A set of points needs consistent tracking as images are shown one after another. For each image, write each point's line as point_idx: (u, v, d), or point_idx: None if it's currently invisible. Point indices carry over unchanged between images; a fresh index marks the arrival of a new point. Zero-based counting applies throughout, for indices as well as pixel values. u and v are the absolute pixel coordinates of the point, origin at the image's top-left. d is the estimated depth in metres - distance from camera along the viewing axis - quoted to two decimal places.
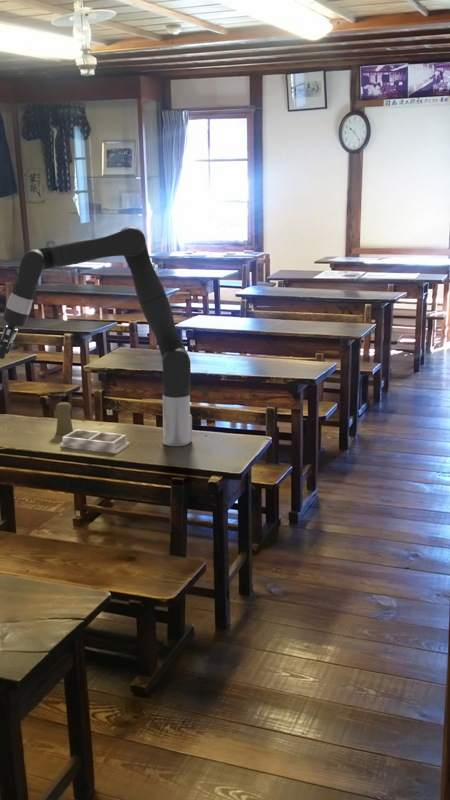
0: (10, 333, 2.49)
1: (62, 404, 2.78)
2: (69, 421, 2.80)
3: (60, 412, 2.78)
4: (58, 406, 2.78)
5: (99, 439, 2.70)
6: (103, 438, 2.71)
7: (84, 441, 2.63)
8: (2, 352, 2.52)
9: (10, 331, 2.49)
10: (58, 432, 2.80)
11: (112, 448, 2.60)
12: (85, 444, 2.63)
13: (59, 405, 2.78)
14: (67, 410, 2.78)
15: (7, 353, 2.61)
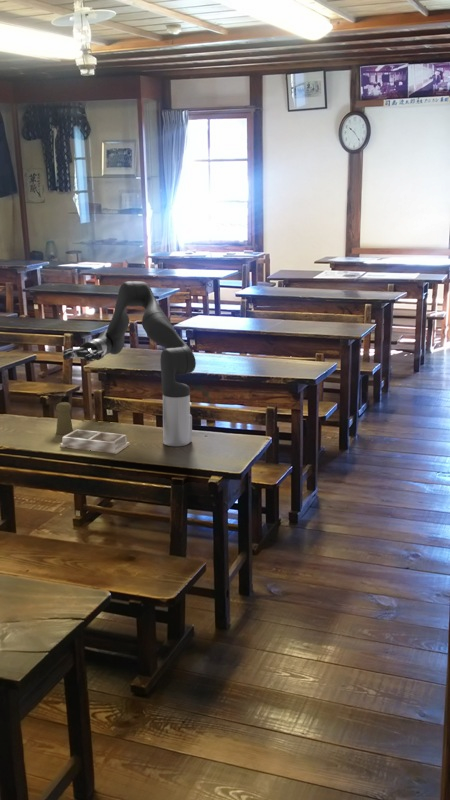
0: None
1: (62, 404, 2.78)
2: (69, 421, 2.80)
3: (60, 412, 2.78)
4: (58, 406, 2.78)
5: (99, 439, 2.70)
6: (103, 438, 2.71)
7: (84, 441, 2.63)
8: None
9: None
10: (58, 432, 2.80)
11: (112, 448, 2.60)
12: (85, 444, 2.63)
13: (59, 405, 2.78)
14: (67, 410, 2.78)
15: (85, 355, 2.85)
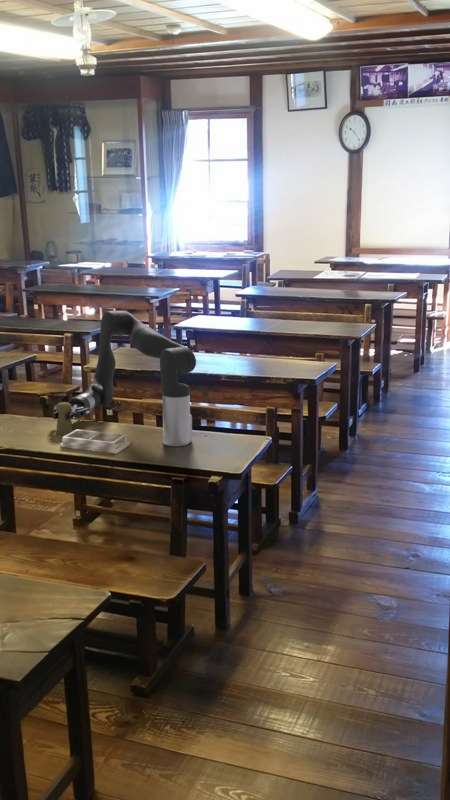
0: (55, 407, 2.88)
1: (62, 404, 2.78)
2: (69, 421, 2.80)
3: (60, 412, 2.78)
4: (58, 406, 2.78)
5: (99, 439, 2.70)
6: (103, 438, 2.71)
7: (84, 441, 2.63)
8: None
9: None
10: (58, 432, 2.80)
11: (112, 448, 2.60)
12: (85, 444, 2.63)
13: (59, 405, 2.78)
14: (67, 410, 2.78)
15: None
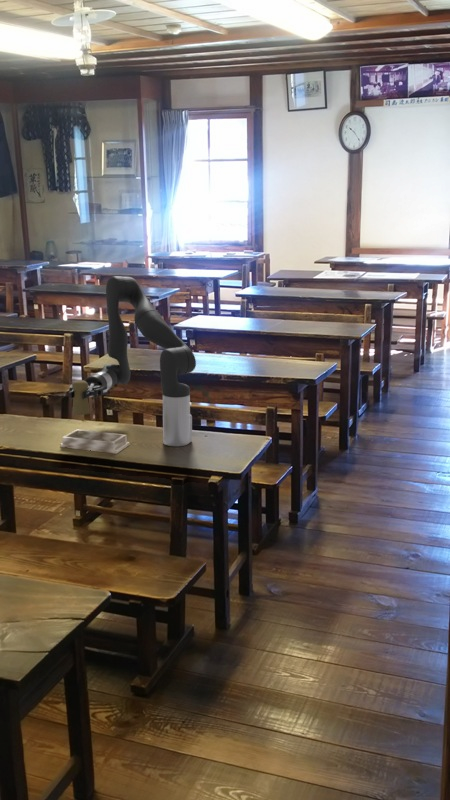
0: None
1: (78, 382, 2.62)
2: (86, 400, 2.65)
3: (76, 391, 2.63)
4: (74, 385, 2.62)
5: (99, 439, 2.70)
6: (103, 438, 2.71)
7: (84, 441, 2.63)
8: None
9: None
10: (74, 412, 2.65)
11: (112, 448, 2.60)
12: (85, 444, 2.63)
13: (75, 383, 2.62)
14: (84, 388, 2.63)
15: (82, 393, 2.62)
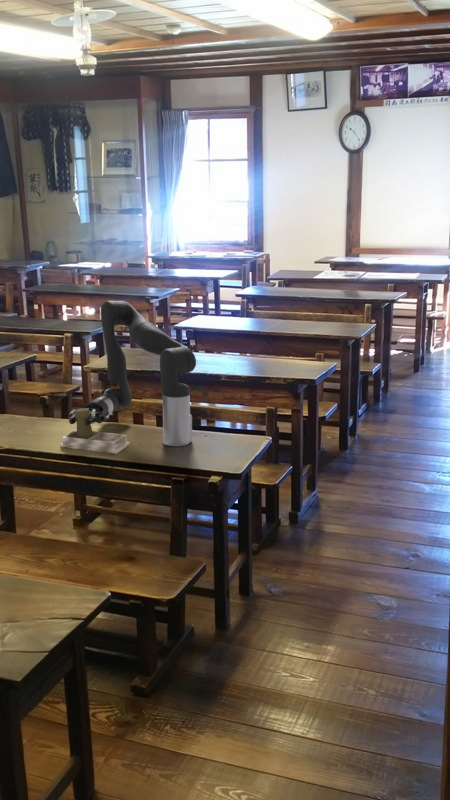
0: None
1: (80, 411, 2.64)
2: (89, 428, 2.67)
3: (79, 419, 2.65)
4: (76, 413, 2.65)
5: (99, 439, 2.70)
6: (103, 438, 2.71)
7: (84, 441, 2.63)
8: None
9: None
10: None
11: (112, 448, 2.60)
12: (85, 444, 2.63)
13: (77, 412, 2.65)
14: (86, 416, 2.65)
15: None
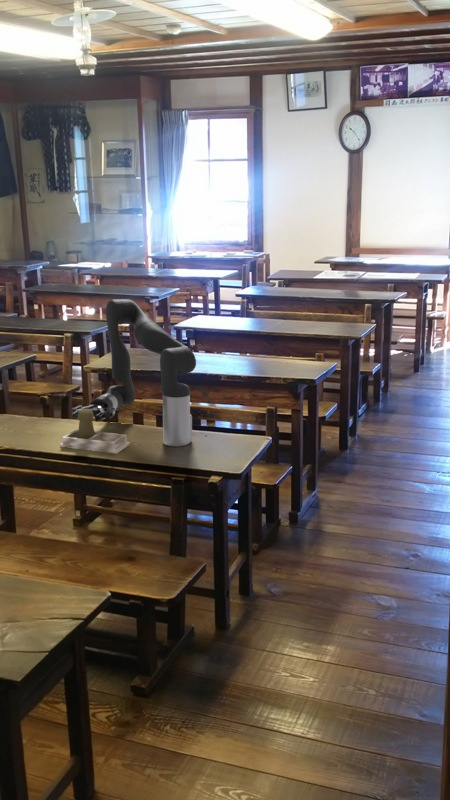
0: None
1: (83, 413, 2.63)
2: (91, 429, 2.66)
3: (81, 421, 2.64)
4: (79, 415, 2.63)
5: (99, 439, 2.70)
6: (103, 438, 2.71)
7: (84, 441, 2.63)
8: None
9: None
10: None
11: (112, 448, 2.60)
12: (85, 444, 2.63)
13: (81, 414, 2.63)
14: (89, 419, 2.63)
15: (95, 415, 2.68)
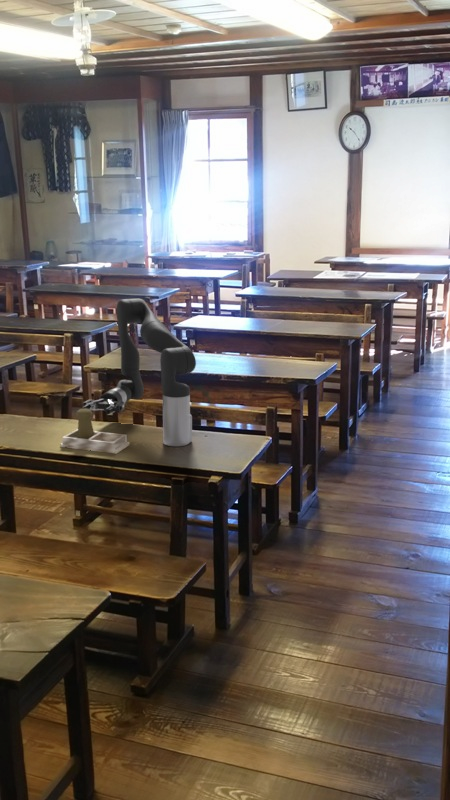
0: None
1: (82, 412, 2.64)
2: (90, 429, 2.67)
3: (80, 420, 2.65)
4: (78, 414, 2.64)
5: (99, 439, 2.70)
6: (103, 438, 2.71)
7: (84, 441, 2.63)
8: None
9: None
10: None
11: (112, 448, 2.60)
12: (85, 444, 2.63)
13: (79, 413, 2.64)
14: (88, 418, 2.65)
15: (105, 408, 2.76)
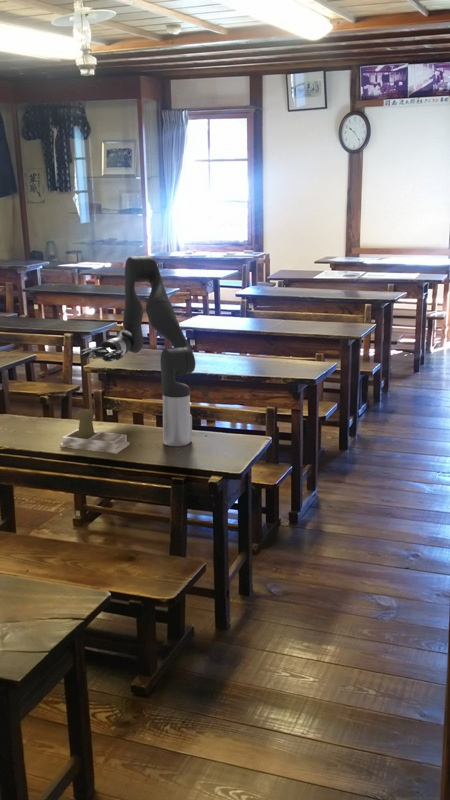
0: None
1: (83, 411, 2.65)
2: (91, 429, 2.67)
3: (82, 419, 2.65)
4: (79, 413, 2.65)
5: (99, 439, 2.70)
6: (103, 438, 2.71)
7: (84, 441, 2.63)
8: None
9: None
10: None
11: (112, 448, 2.60)
12: (85, 444, 2.63)
13: (81, 412, 2.65)
14: (89, 417, 2.65)
15: (104, 355, 2.71)
